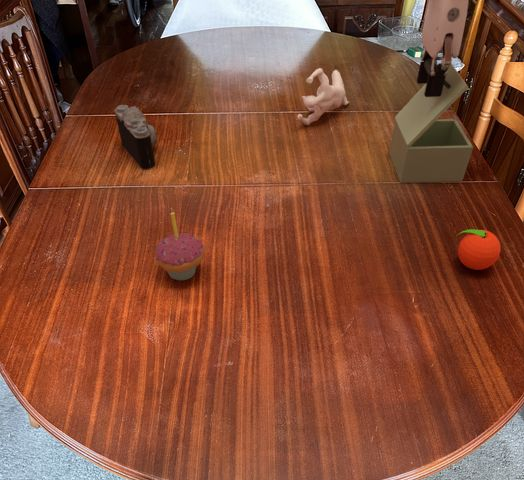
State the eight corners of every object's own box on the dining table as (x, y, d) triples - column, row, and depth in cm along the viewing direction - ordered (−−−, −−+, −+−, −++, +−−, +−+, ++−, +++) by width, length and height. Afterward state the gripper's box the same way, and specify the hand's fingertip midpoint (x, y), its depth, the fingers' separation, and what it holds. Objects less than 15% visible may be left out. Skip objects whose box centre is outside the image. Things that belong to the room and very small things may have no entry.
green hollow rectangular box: (446, 152, 118) (456, 119, 112) (462, 181, 110) (473, 147, 104) (388, 153, 118) (395, 120, 112) (400, 182, 110) (407, 148, 104)
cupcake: (155, 262, 93) (143, 205, 84) (200, 253, 94) (193, 196, 85) (164, 292, 87) (152, 235, 78) (211, 282, 89) (205, 225, 80)
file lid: (450, 61, 103) (431, 42, 101) (468, 87, 95) (448, 67, 92) (396, 119, 112) (377, 103, 109) (409, 147, 104) (389, 130, 101)
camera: (170, 163, 116) (163, 119, 108) (142, 171, 114) (133, 127, 106) (145, 136, 124) (137, 94, 117) (119, 143, 122) (109, 101, 114)
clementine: (441, 266, 92) (452, 234, 86) (455, 246, 95) (466, 214, 90) (485, 283, 89) (500, 250, 83) (497, 261, 92) (512, 229, 87)
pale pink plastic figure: (311, 54, 130) (309, 68, 116) (359, 68, 131) (362, 84, 117) (297, 107, 138) (293, 126, 124) (342, 120, 139) (343, 140, 125)
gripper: (489, -7, 82) (459, 107, 96) (459, -33, 93) (436, 72, 107) (443, -5, 82) (419, 109, 96) (418, -32, 93) (400, 73, 107)
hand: (428, 88), depth 101 cm, fingers closed on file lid, 5 cm apart
